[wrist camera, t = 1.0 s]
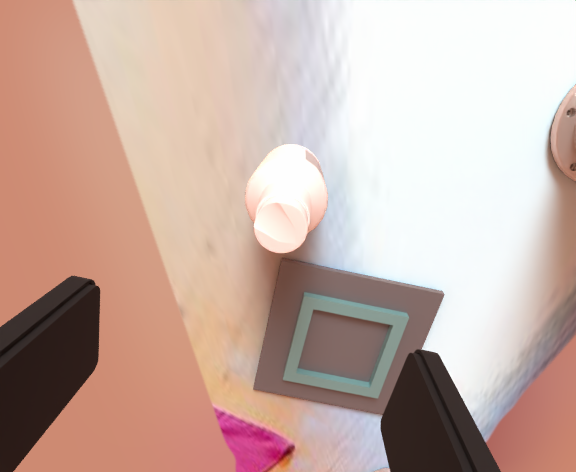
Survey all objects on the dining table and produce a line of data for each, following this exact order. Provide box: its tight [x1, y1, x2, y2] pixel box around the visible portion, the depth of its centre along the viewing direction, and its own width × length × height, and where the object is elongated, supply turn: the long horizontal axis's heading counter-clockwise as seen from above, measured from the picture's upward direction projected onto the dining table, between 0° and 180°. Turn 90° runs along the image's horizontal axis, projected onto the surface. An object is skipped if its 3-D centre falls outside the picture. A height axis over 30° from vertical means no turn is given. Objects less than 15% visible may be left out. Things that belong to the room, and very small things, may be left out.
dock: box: [253, 258, 444, 414], centre depth 45 cm, size 20×20×2 cm
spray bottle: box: [245, 144, 328, 253], centre depth 30 cm, size 7×7×18 cm
